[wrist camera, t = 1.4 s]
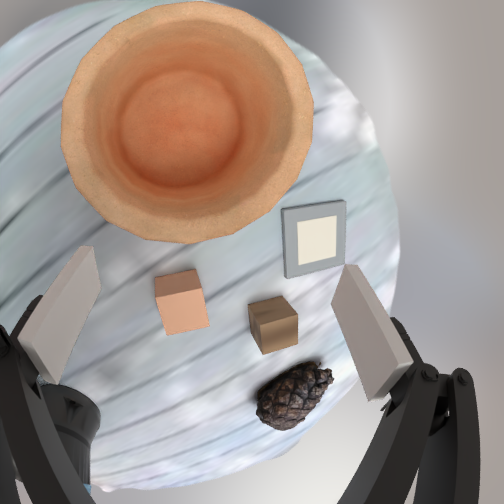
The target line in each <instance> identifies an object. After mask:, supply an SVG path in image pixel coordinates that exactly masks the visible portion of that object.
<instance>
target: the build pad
mask: <svg viewBox="0 0 504 504" xmlns="http://www.w3.org/2000/svg"><path fill="white" fill-rule="evenodd" d="M281 216H282V234H283V254H284V277H285V278H286V279H290V278H294V277H298V276H302V275H306V274H309V273H313V272H317V271H321V270H325V269H328V268H332V267H336V266H340V265H343V264H345V242H346V201H343V200H341V201H334V202H327V203H320V204H313V205H306V206H300V207H293V208H287V209H281Z"/></svg>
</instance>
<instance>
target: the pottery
mask: <svg viewBox="0 0 504 504" xmlns="http://www.w3.org/2000/svg"><path fill="white" fill-rule="evenodd" d="M313 107H314V102H313V98H312V95H311V91H310V88H309V85H308V82H307V79H306V75H305V72H304V69H303V66H302V64H301V63H300V61H299V60H298V58H297V57H296V56H295V54H294V53H293V52H292V50H291V49H290V48H289V47H288V45H287V44H286V43H285V41H284V40H283V39H282V38H281V36H280V35H279V34H278V33H277V32H276V31H274V30H273V29H271V28H270V27H268V26H267V25H265V24H264V23H262V22H260V21H259V20H257V19H256V18H254V17H252V16H251V15H249V14H248V13H246V12H244V11H242V10H239V9H235V8H231V7H227V6H222V5H218V4H213V3H208V2H203V1H194V2H183V3H174V4H166V5H160V6H155V7H153V8H150V9H148V10H146V11H144V12H141V13H139V14H137V15H135V16H133V17H131V18H129V19H127V20H125V21H123V22H121V23H119V24H117V25H115V26H114V27H113V28H112V29H111V30H110V31H109V32H107V33H106V34H105V35H104V36H103V37H102V38H101V39H100V40H99V41H98V42H97V43H96V44H95V45H94V46H93V47H92V48H91V50H90V51H89V52H88V53H87V54H86V55H85V56H84V57H83V58H82V59H81V61H80V63H79V65H78V68H77V70H76V72H75V74H74V76H73V78H72V81H71V83H70V85H69V87H68V90H67V92H66V95H65V97H64V99H63V105H62V121H61V148H62V151H63V154H64V157H65V160H66V163H67V166H68V168H69V171H70V174H71V176H72V179H73V182H74V184H75V187H76V189H77V190H78V191H79V192H80V193H81V194H82V195H83V196H84V197H85V199H86V200H87V201H88V202H89V203H90V204H91V205H92V206H93V207H94V208H95V209H96V211H97V212H98V213H99V214H100V215H101V216H102V217H103V218H104V219H105V220H106V221H108V222H110V223H112V224H114V225H116V226H118V227H120V228H122V229H124V230H126V231H128V232H131V233H133V234H135V235H137V236H139V237H141V238H143V239H145V240H154V241H164V242H174V243H184V244H192V243H197V242H201V241H205V240H209V239H213V238H218V237H222V236H226V235H231V234H234V233H235V232H237V231H238V230H240V229H242V228H243V227H245V226H246V225H248V224H250V223H251V222H253V221H255V220H256V219H258V218H260V217H261V216H263V215H264V214H266V213H268V212H269V211H270V210H271V209H272V208H273V207H274V206H275V205H276V203H277V202H278V201H279V200H280V199H281V197H282V196H283V195H284V194H285V193H286V192H287V190H288V189H289V188H290V187H291V186H292V184H293V183H294V182H295V181H296V180H297V178H298V175H299V173H300V170H301V168H302V165H303V163H304V160H305V158H306V155H307V153H308V150H309V148H310V145H311V143H312V131H313Z"/></svg>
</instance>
